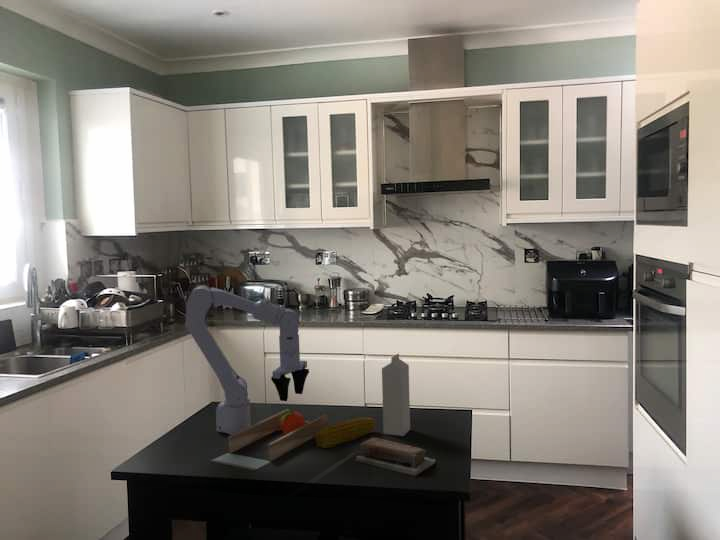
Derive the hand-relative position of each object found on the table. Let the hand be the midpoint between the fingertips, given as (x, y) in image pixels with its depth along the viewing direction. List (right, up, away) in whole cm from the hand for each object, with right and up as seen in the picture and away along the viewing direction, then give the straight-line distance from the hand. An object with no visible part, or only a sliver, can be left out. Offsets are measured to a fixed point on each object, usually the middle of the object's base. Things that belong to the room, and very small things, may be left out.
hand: (291, 397), depth 187 cm
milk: (+30, -9, -5) cm, 32 cm away
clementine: (+1, -10, -6) cm, 12 cm away
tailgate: (-8, -11, -23) cm, 27 cm away
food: (+16, -10, -10) cm, 22 cm away
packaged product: (+29, -12, -27) cm, 41 cm away
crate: (-2, -10, -11) cm, 15 cm away
